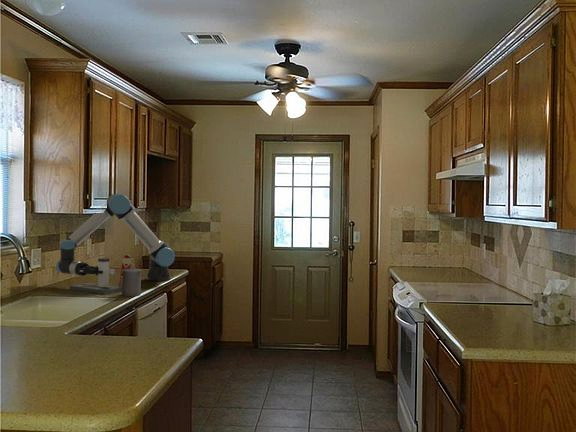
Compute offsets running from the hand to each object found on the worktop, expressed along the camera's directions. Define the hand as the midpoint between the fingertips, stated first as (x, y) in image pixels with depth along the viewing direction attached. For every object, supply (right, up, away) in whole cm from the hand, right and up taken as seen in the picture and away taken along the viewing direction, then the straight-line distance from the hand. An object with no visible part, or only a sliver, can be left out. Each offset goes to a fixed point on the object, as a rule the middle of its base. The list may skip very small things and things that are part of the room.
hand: (110, 272), depth 313 cm
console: (-10, -10, +5) cm, 15 cm away
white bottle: (-5, -8, +3) cm, 10 cm away
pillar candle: (+13, -12, -6) cm, 19 cm away
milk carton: (+3, -11, +21) cm, 24 cm away
